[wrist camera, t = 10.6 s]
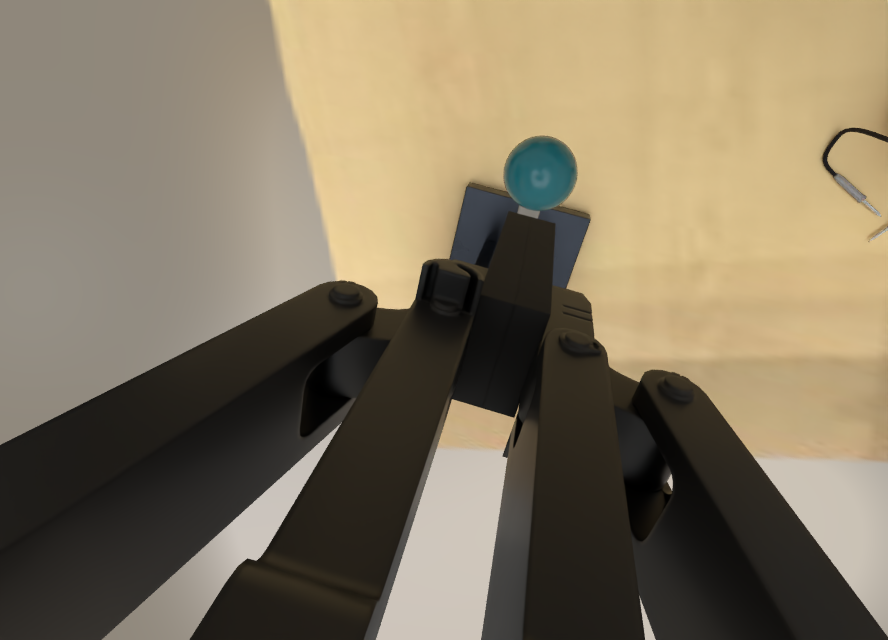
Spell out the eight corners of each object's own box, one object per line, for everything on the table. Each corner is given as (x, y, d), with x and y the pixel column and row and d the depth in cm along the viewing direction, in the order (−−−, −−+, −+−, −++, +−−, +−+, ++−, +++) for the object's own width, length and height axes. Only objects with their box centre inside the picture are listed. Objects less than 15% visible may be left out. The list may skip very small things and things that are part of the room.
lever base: (469, 181, 44) (432, 232, 31) (590, 214, 43) (599, 278, 31) (439, 309, 49) (398, 393, 37) (545, 339, 49) (538, 435, 36)
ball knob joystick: (519, 114, 27) (506, 150, 24) (590, 132, 26) (584, 171, 24) (469, 315, 38) (456, 354, 36) (518, 330, 38) (509, 369, 35)
